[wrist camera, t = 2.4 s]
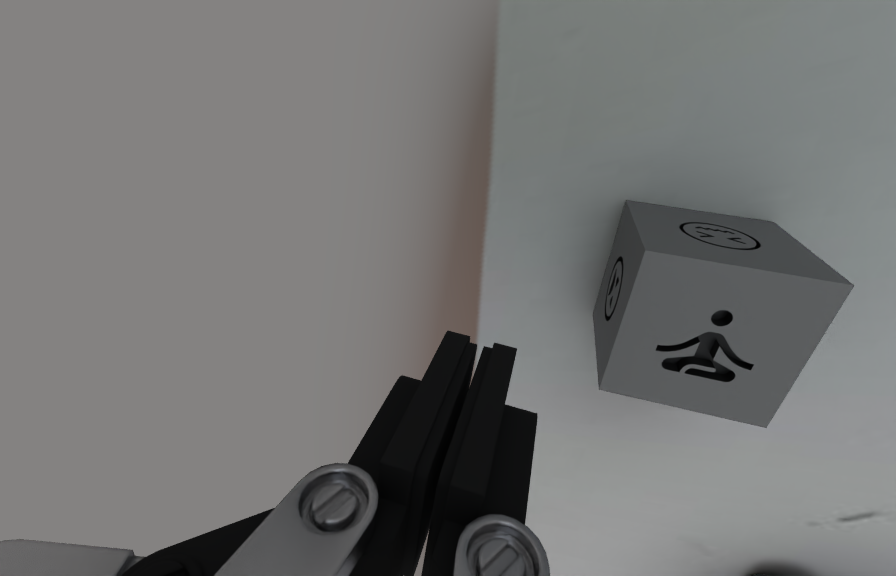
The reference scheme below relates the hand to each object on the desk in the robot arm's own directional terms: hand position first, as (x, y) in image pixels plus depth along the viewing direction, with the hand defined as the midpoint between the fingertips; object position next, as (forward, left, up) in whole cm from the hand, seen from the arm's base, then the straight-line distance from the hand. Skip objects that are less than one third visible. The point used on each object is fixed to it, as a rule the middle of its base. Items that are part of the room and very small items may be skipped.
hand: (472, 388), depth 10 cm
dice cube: (+5, +4, -9) cm, 11 cm away
